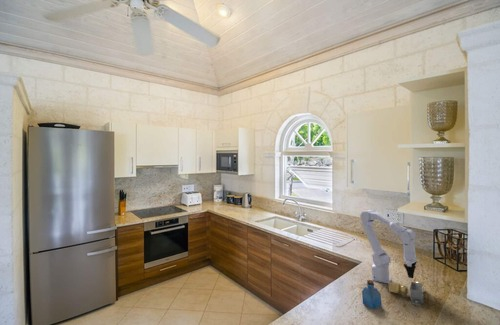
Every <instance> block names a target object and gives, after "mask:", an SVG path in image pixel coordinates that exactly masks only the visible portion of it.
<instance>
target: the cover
mask: <svg viewBox="0 0 500 325" xmlns="http://www.w3.org/2000/svg"><path fill="white" fill-rule="evenodd" d="M414 282H415V283H420V284H422V285H423V293H426V288H424V285H425V284H424V282H423V281H421V280H415V281H414Z"/></svg>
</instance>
